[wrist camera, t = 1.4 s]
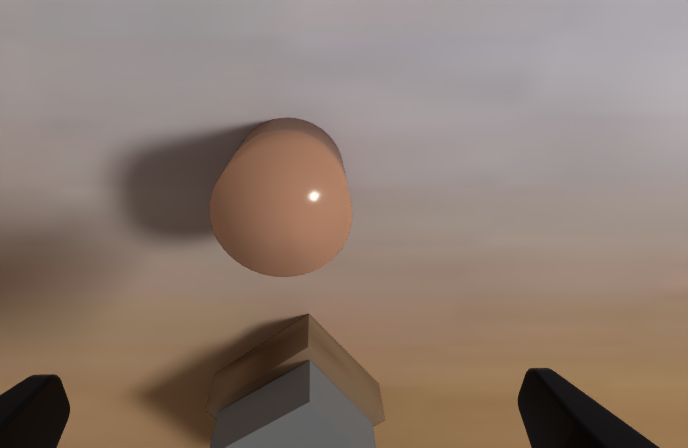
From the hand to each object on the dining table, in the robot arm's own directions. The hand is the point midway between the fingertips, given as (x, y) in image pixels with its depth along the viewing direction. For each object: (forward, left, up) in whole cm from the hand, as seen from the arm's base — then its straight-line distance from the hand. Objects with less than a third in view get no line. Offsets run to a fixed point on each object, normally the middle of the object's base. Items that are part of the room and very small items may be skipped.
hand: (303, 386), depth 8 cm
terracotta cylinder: (-1, +1, -12) cm, 12 cm away
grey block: (-9, -10, -10) cm, 16 cm away
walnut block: (-9, -10, -13) cm, 18 cm away
